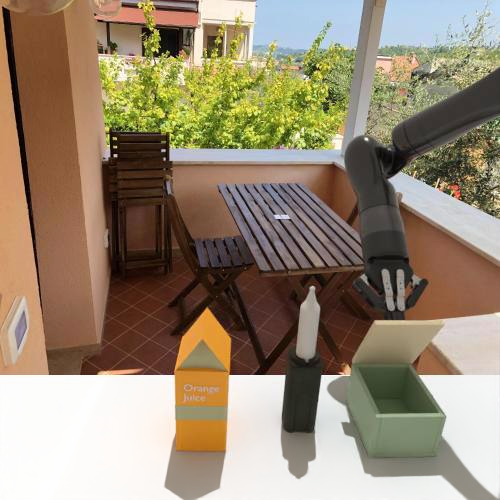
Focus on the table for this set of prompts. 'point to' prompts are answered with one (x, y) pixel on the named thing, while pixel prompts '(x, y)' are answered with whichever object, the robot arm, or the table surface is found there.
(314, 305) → the candle
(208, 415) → the orange juice
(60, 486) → the table surface
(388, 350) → the lid
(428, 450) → the chest
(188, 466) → the table surface
